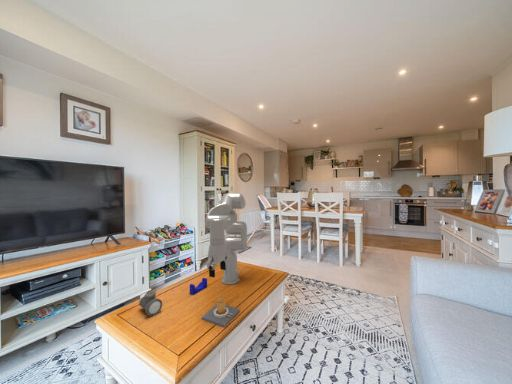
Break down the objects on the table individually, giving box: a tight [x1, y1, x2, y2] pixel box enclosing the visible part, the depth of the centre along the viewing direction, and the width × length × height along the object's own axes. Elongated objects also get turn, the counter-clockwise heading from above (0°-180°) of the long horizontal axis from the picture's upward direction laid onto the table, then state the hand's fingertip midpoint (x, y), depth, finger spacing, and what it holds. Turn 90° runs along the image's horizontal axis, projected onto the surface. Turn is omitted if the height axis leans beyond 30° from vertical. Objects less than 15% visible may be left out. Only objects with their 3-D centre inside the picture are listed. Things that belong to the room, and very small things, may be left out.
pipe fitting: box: [138, 290, 163, 317], centre depth 108 cm, size 12×8×10 cm
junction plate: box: [201, 304, 240, 328], centre depth 104 cm, size 14×14×2 cm
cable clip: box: [189, 277, 208, 296], centre depth 130 cm, size 12×4×6 cm, turn 148°
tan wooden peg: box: [216, 296, 226, 315], centre depth 104 cm, size 4×4×8 cm
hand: (217, 273), depth 107 cm, fingers open, 9 cm apart
